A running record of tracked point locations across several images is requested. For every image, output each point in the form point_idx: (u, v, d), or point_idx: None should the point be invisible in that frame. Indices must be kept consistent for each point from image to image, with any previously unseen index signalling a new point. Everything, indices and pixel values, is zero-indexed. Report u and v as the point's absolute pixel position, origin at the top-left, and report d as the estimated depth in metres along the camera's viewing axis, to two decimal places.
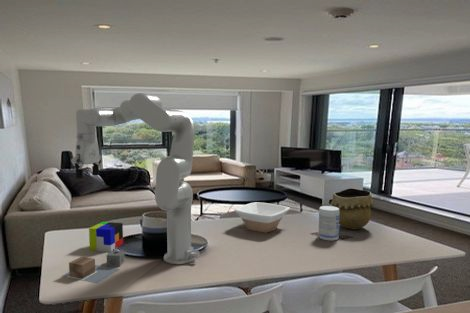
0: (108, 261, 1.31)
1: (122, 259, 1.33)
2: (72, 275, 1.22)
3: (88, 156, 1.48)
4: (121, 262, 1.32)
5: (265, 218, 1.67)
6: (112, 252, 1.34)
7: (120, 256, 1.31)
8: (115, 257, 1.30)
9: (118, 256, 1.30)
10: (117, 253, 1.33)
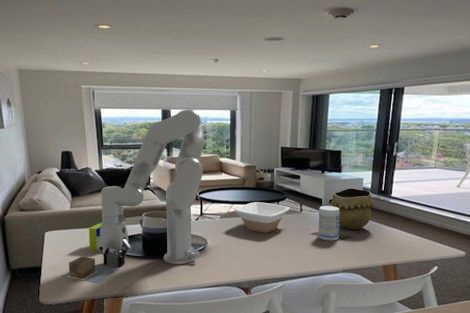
0: (108, 260, 1.31)
1: None
2: (72, 275, 1.22)
3: None
4: None
5: (265, 218, 1.67)
6: (112, 251, 1.34)
7: None
8: (115, 256, 1.31)
9: (118, 255, 1.31)
10: (117, 252, 1.33)
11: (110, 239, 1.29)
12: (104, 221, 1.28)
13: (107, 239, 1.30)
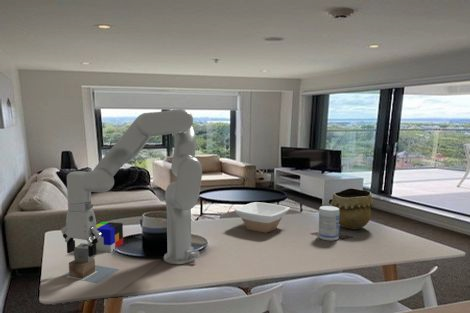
0: (76, 254, 1.22)
1: None
2: (72, 275, 1.22)
3: None
4: None
5: (265, 218, 1.67)
6: (81, 245, 1.25)
7: None
8: (83, 250, 1.22)
9: (86, 249, 1.22)
10: (86, 246, 1.24)
11: (76, 228, 1.20)
12: (69, 208, 1.19)
13: (73, 228, 1.20)
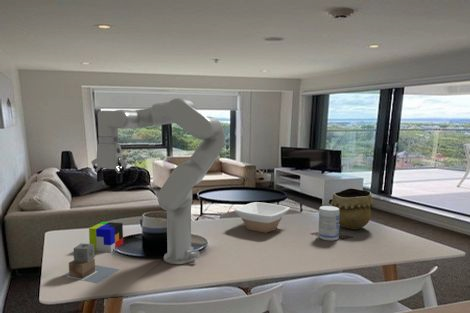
0: (75, 254, 1.22)
1: (91, 253, 1.25)
2: (72, 275, 1.22)
3: None
4: (89, 256, 1.24)
5: (265, 218, 1.67)
6: (81, 245, 1.25)
7: (88, 249, 1.22)
8: (82, 250, 1.22)
9: (86, 249, 1.22)
10: (85, 246, 1.24)
11: (106, 158, 1.40)
12: (100, 141, 1.39)
13: (103, 159, 1.40)
